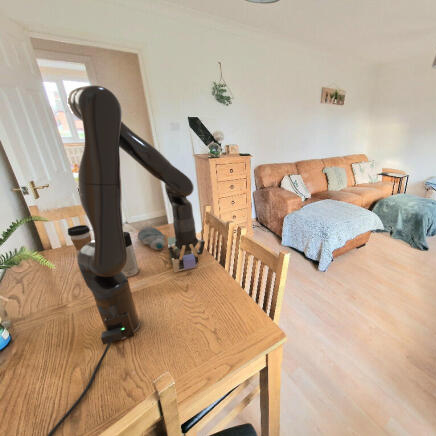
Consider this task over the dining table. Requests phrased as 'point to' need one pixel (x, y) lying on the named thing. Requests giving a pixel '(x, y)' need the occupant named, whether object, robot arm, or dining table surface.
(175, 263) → the drawer
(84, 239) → the coffee cup
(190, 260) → the purple cube
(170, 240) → the cabinet
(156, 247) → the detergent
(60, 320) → the dining table surface
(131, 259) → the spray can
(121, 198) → the robot arm
